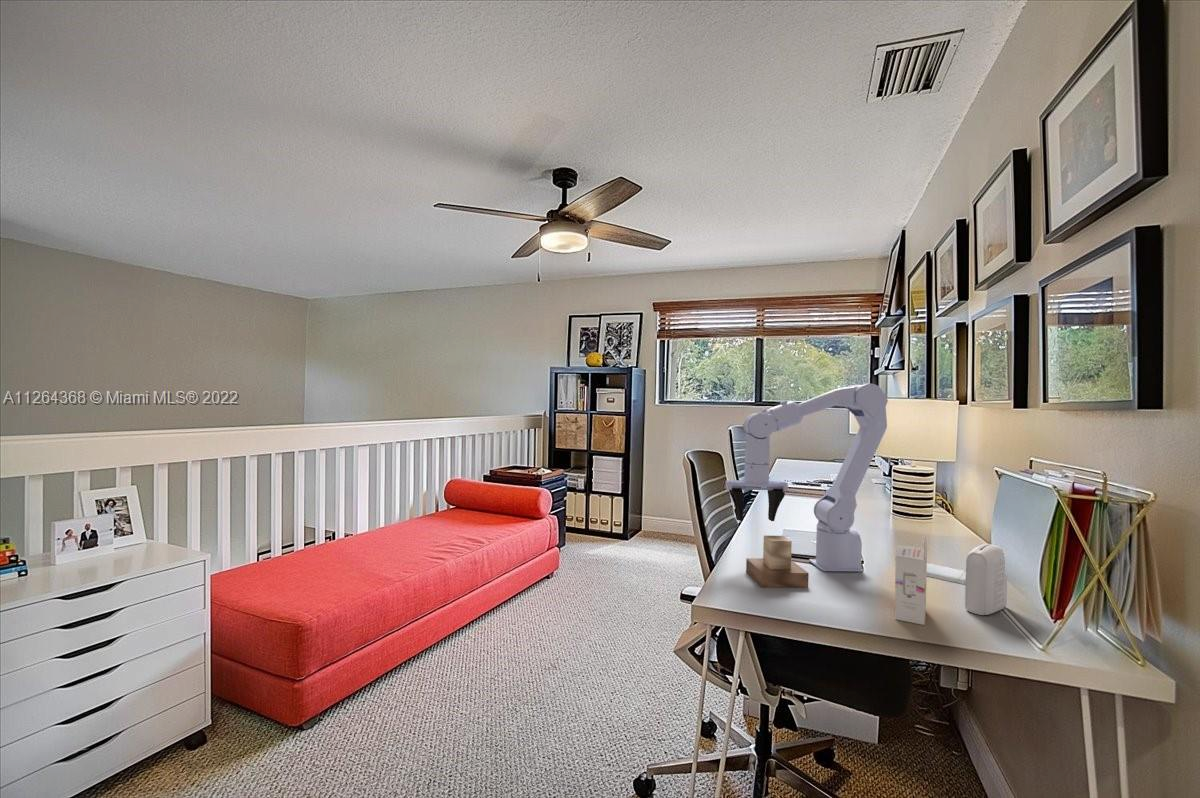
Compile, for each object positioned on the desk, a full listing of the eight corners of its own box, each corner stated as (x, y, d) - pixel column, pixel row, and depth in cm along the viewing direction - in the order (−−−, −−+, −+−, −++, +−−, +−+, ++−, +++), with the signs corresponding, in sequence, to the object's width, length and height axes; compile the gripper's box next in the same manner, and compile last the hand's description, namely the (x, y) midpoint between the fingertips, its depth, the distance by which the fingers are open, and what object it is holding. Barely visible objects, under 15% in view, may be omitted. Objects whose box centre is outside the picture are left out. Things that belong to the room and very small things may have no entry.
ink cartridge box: (895, 604, 104) (897, 529, 104) (925, 610, 101) (927, 533, 101) (893, 619, 97) (895, 538, 97) (925, 626, 94) (927, 542, 94)
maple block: (782, 562, 119) (783, 535, 119) (790, 569, 115) (791, 541, 115) (763, 562, 119) (763, 535, 119) (770, 568, 115) (770, 540, 115)
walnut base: (789, 571, 122) (789, 558, 122) (808, 587, 112) (808, 573, 112) (746, 571, 122) (746, 558, 122) (761, 586, 112) (761, 572, 112)
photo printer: (984, 600, 107) (986, 538, 107) (1010, 607, 104) (1011, 544, 104) (961, 610, 102) (962, 545, 102) (987, 618, 98) (988, 551, 98)
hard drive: (901, 566, 125) (964, 579, 117) (911, 559, 131) (972, 571, 123) (901, 573, 125) (964, 587, 117) (911, 565, 131) (972, 578, 123)
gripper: (732, 464, 124) (730, 523, 124) (793, 466, 124) (792, 524, 124) (723, 461, 131) (722, 516, 131) (781, 462, 131) (780, 517, 131)
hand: (755, 520), depth 128 cm, fingers open, 7 cm apart
